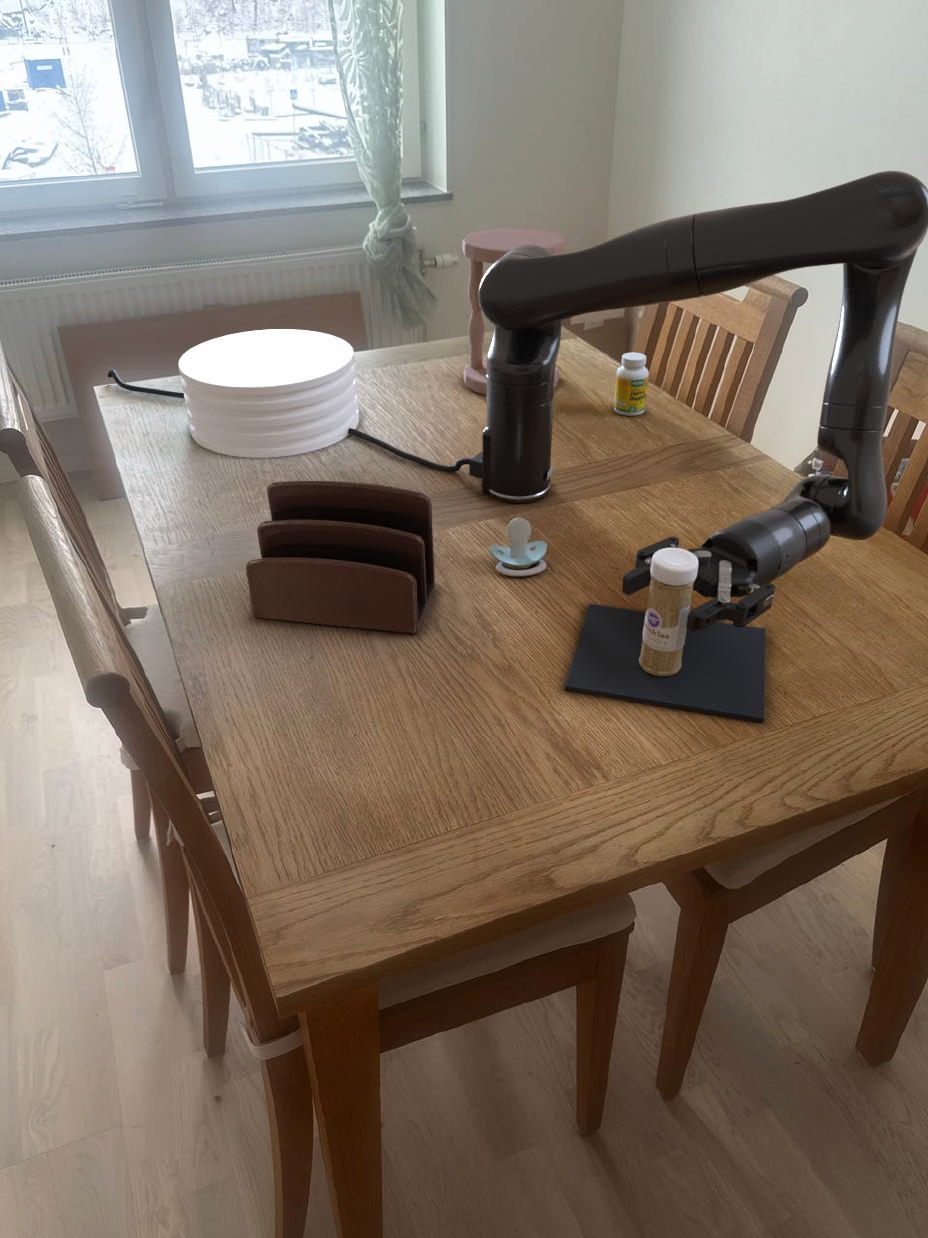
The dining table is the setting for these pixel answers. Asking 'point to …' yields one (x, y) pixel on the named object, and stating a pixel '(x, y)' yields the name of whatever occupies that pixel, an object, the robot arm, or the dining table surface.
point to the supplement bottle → (631, 385)
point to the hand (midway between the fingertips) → (656, 604)
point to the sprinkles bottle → (667, 610)
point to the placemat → (707, 681)
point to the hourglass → (480, 250)
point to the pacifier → (519, 551)
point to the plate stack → (270, 392)
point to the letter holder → (344, 556)
